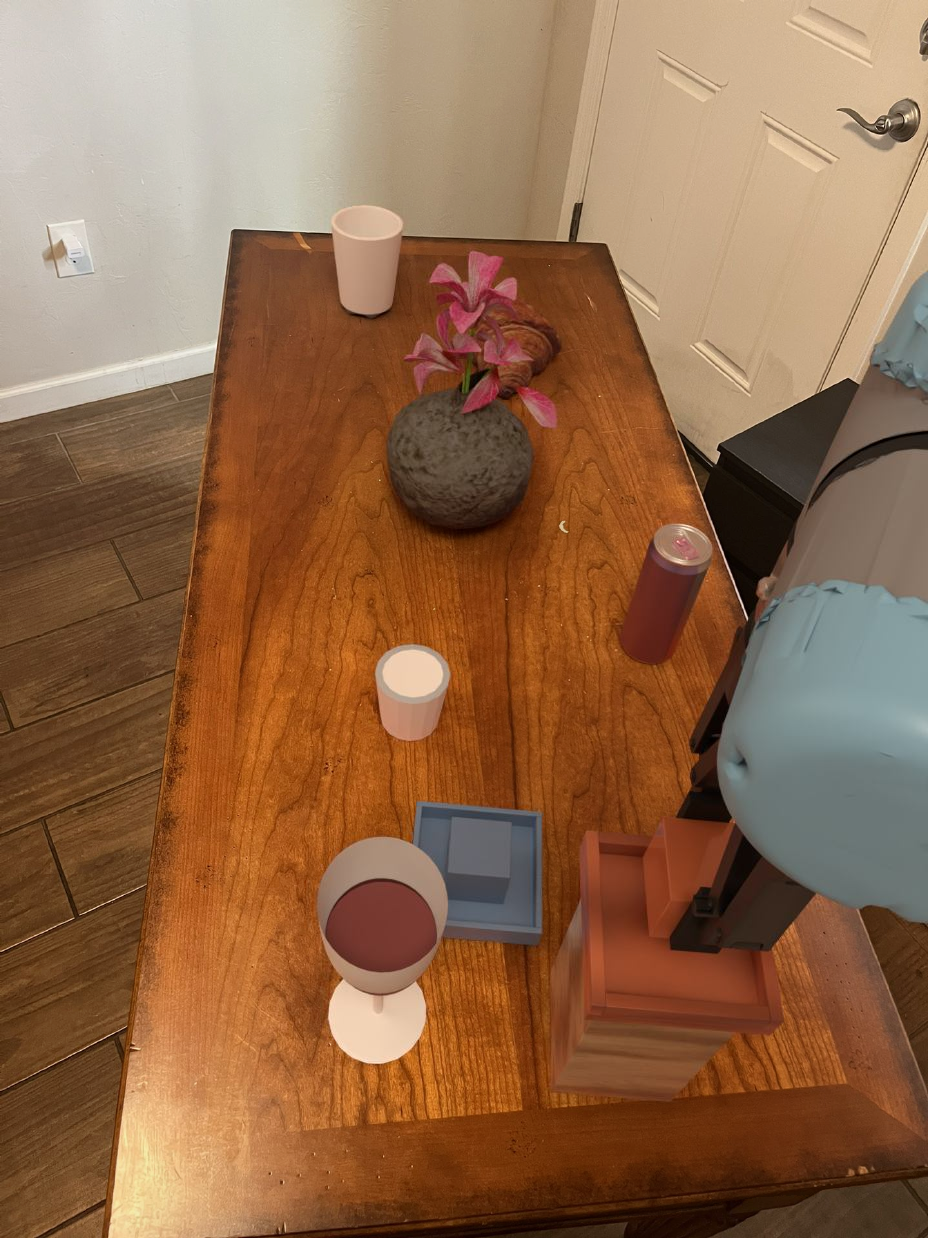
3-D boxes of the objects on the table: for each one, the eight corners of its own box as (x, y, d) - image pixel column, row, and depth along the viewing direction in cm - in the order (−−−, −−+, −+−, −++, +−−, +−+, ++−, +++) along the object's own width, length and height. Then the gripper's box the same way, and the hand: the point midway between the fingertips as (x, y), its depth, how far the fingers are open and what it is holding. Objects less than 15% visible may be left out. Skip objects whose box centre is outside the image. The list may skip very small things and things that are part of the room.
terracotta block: (735, 944, 54) (763, 907, 50) (649, 937, 54) (671, 899, 50) (723, 864, 57) (749, 824, 53) (642, 857, 57) (662, 816, 53)
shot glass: (429, 756, 88) (433, 713, 83) (362, 731, 89) (362, 687, 84) (455, 702, 92) (461, 657, 87) (391, 679, 94) (393, 633, 88)
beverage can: (636, 673, 97) (673, 572, 85) (608, 631, 100) (639, 529, 89) (685, 658, 99) (727, 557, 87) (655, 617, 102) (692, 515, 91)
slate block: (503, 904, 79) (510, 878, 75) (443, 899, 78) (447, 872, 75) (504, 850, 82) (511, 822, 78) (447, 845, 82) (451, 816, 78)
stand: (685, 1118, 69) (784, 1021, 53) (537, 1106, 69) (592, 1005, 53) (671, 970, 77) (755, 845, 60) (537, 958, 76) (586, 829, 60)
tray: (537, 946, 77) (542, 933, 75) (403, 934, 77) (405, 921, 75) (538, 825, 84) (542, 811, 82) (415, 814, 84) (417, 800, 82)
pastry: (428, 340, 133) (431, 288, 127) (513, 312, 140) (520, 262, 134) (501, 403, 125) (508, 351, 119) (587, 370, 132) (598, 319, 126)
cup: (414, 309, 138) (418, 225, 129) (364, 332, 133) (365, 246, 124) (368, 280, 142) (369, 197, 133) (318, 302, 137) (315, 217, 128)
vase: (369, 469, 114) (372, 230, 91) (504, 449, 119) (538, 218, 96) (407, 566, 104) (420, 325, 81) (553, 541, 108) (604, 306, 86)
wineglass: (329, 1079, 69) (321, 981, 54) (322, 962, 75) (313, 843, 60) (436, 1064, 70) (457, 963, 55) (421, 950, 76) (437, 830, 61)
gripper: (720, 490, 44) (616, 762, 61) (789, 842, 32) (635, 1055, 49) (879, 506, 44) (730, 772, 61) (1006, 862, 32) (776, 1066, 49)
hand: (688, 897), depth 55 cm, fingers closed on terracotta block, 5 cm apart
